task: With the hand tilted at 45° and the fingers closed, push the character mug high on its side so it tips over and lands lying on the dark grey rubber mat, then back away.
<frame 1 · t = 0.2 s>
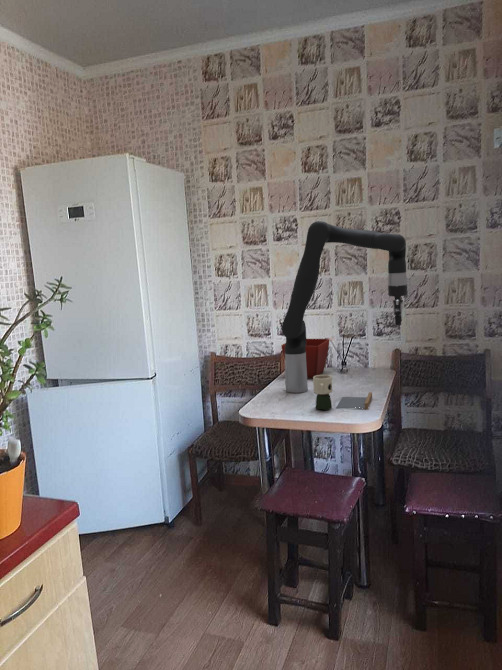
hand: (398, 323, 221), 29 cm above the table, fingers open, 8 cm apart
plant pot: (307, 375, 269), on the table
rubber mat: (352, 403, 214), on the table
character mug: (323, 409, 209), on the table
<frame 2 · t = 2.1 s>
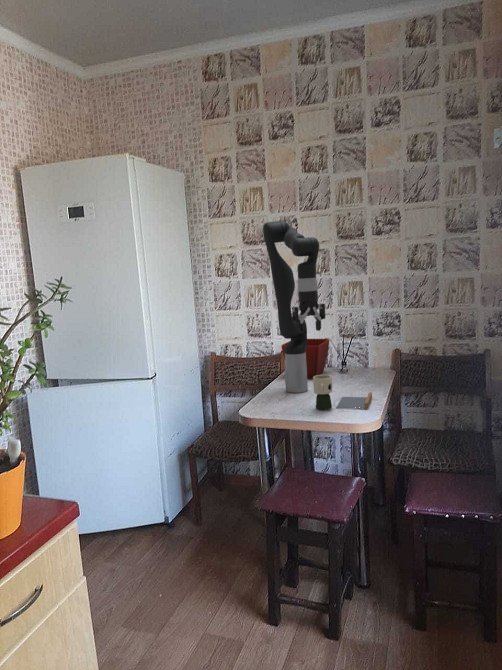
hand: (310, 331, 211), 30 cm above the table, fingers open, 7 cm apart
nothing on the table moved.
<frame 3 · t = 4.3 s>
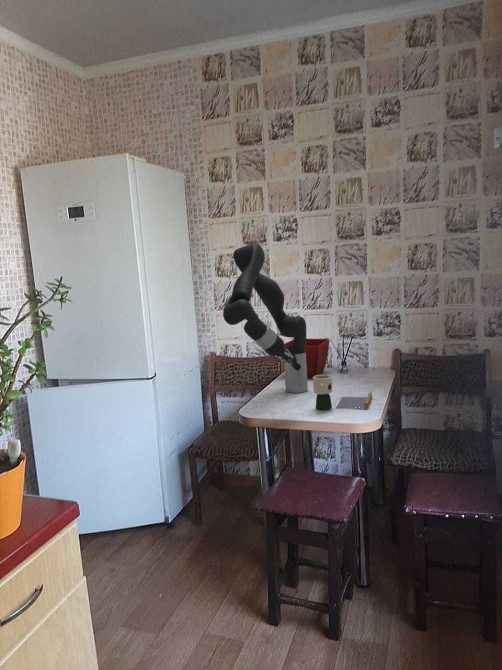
hand: (298, 368, 202), 18 cm above the table, fingers closed
nothing on the table moved.
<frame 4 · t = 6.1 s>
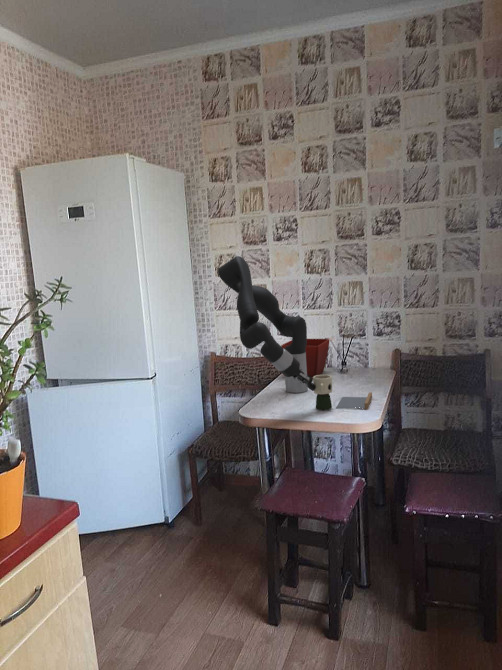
hand: (313, 388, 206), 9 cm above the table, fingers closed
character mug: (323, 409, 209), on the table, touching gripper
everything else where it was.
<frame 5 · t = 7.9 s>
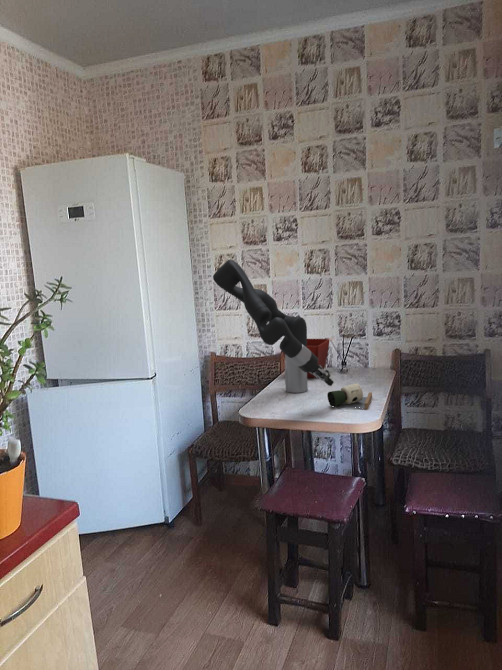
hand: (331, 383, 210), 9 cm above the table, fingers closed
character mug: (329, 400, 210), point 3 cm above the table, touching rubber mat
everything else where it was.
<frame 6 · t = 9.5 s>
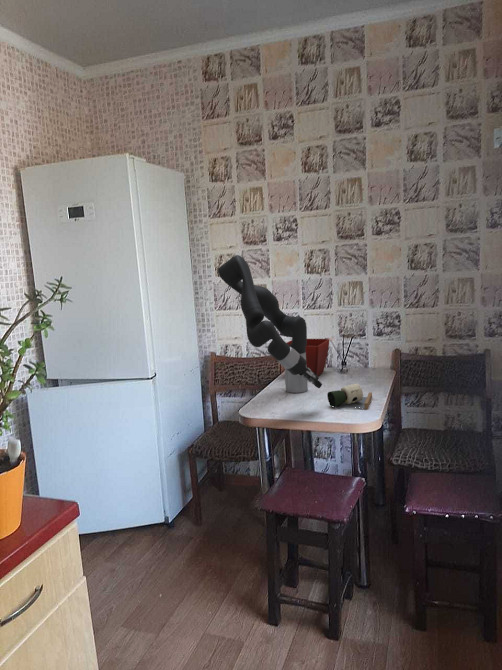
hand: (319, 386, 208), 9 cm above the table, fingers closed
nothing on the table moved.
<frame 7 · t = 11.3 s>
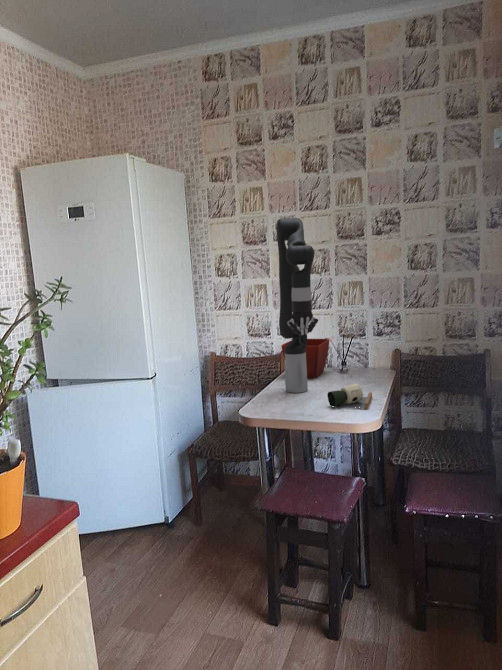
hand: (303, 344, 206), 26 cm above the table, fingers closed
nothing on the table moved.
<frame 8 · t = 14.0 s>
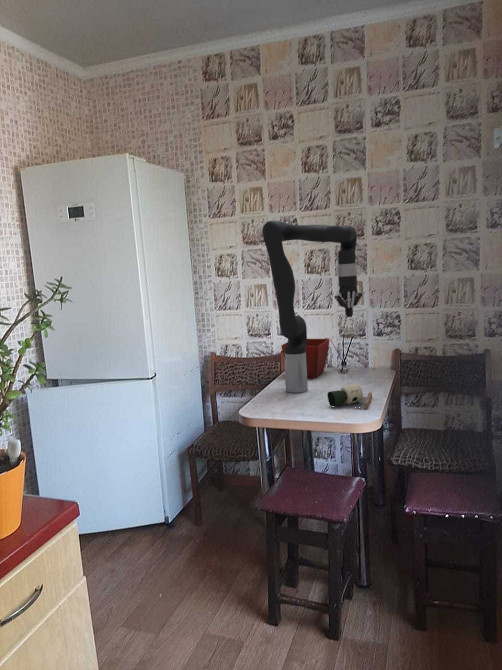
hand: (349, 316, 223), 33 cm above the table, fingers closed
nothing on the table moved.
at the end: character mug tilted 84°; character mug inside the target area (5.9 cm from its centre), point 3.1 cm above the table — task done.
